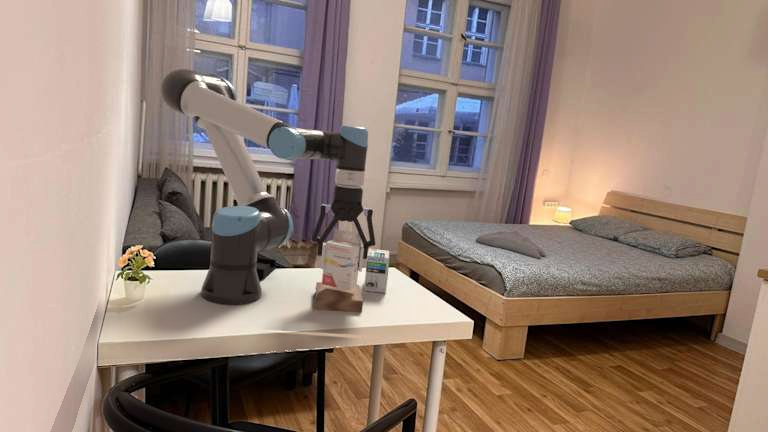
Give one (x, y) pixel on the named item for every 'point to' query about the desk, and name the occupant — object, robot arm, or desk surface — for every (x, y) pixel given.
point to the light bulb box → (377, 270)
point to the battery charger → (265, 267)
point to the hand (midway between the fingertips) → (340, 268)
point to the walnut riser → (338, 298)
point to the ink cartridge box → (342, 260)
